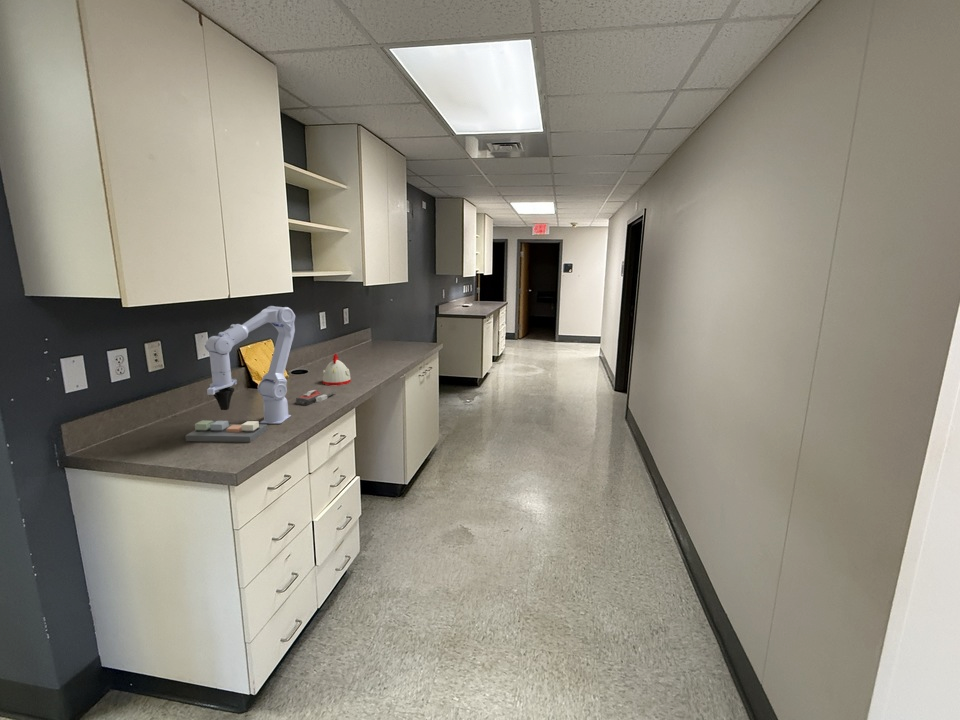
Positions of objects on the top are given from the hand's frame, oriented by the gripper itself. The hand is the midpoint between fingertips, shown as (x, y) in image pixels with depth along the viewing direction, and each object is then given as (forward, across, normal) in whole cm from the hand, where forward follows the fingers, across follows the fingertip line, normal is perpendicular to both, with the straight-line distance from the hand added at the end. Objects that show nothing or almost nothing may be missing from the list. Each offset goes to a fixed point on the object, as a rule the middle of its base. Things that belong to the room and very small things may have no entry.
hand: (224, 409), depth 155 cm
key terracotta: (+9, 0, +3) cm, 10 cm away
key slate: (+8, 0, -2) cm, 8 cm away
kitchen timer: (+10, -77, +14) cm, 79 cm away
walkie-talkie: (+10, -46, +15) cm, 49 cm away
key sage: (+8, 0, -8) cm, 11 cm away
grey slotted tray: (+10, 0, 0) cm, 10 cm away
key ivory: (+8, 0, +8) cm, 11 cm away
